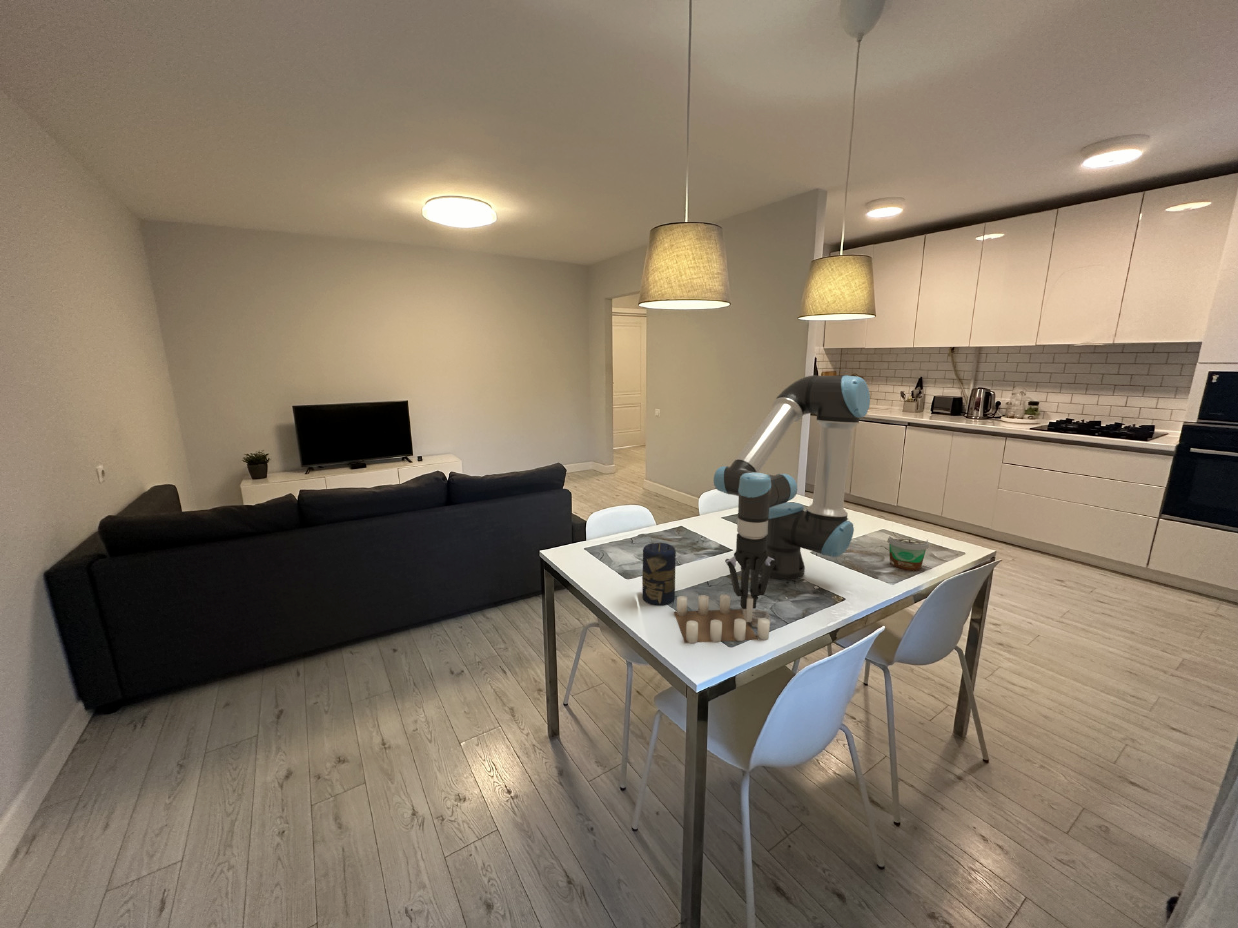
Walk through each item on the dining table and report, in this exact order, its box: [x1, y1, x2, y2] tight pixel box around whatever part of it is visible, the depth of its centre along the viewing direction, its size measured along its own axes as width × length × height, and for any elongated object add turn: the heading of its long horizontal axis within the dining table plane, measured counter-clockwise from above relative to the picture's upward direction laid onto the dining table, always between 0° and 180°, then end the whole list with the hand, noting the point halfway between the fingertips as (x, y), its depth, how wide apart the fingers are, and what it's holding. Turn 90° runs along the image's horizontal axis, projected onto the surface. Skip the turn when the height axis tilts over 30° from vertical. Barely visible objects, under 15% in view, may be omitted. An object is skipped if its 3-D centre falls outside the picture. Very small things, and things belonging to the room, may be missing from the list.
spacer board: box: [673, 608, 759, 644], centre depth 126 cm, size 26×15×1 cm, turn 94°
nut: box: [748, 608, 772, 629], centre depth 126 cm, size 5×6×3 cm
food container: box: [887, 535, 930, 572], centre depth 160 cm, size 12×6×10 cm, turn 70°
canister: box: [641, 542, 677, 607], centre depth 138 cm, size 10×10×18 cm
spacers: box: [676, 593, 771, 644], centre depth 125 cm, size 21×16×5 cm
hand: (747, 619), depth 125 cm, fingers closed
